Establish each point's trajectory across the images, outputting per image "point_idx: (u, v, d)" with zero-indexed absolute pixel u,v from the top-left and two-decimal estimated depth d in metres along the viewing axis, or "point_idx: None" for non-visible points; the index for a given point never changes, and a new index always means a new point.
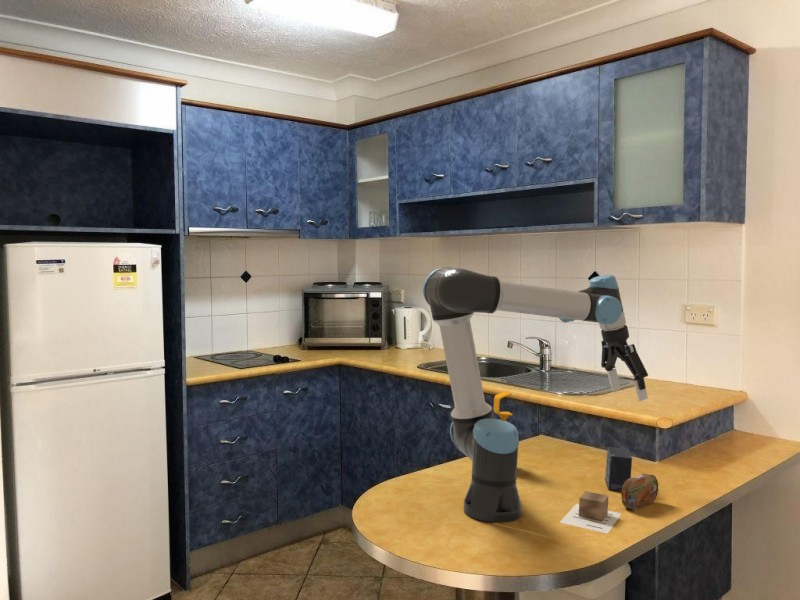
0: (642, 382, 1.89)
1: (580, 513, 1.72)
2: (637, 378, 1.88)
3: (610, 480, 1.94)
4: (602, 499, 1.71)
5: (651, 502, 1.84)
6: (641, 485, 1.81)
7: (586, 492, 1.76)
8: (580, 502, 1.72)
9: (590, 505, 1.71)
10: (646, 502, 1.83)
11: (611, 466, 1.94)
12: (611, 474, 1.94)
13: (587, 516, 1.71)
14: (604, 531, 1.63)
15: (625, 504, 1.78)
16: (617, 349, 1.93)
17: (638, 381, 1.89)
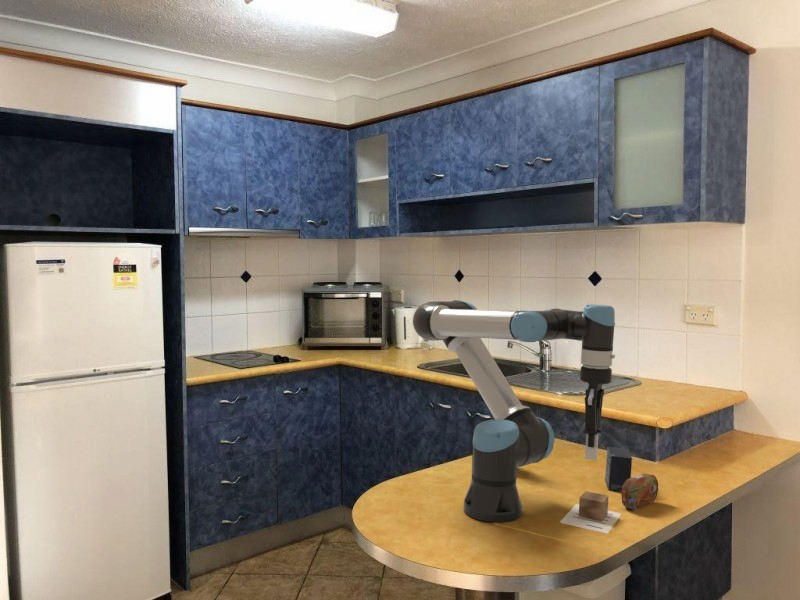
0: (591, 439, 1.65)
1: (580, 513, 1.72)
2: (586, 433, 1.66)
3: (610, 480, 1.94)
4: (602, 499, 1.71)
5: (651, 502, 1.84)
6: (641, 485, 1.81)
7: (586, 492, 1.76)
8: (580, 502, 1.72)
9: (590, 505, 1.71)
10: (646, 502, 1.83)
11: (611, 466, 1.94)
12: (611, 474, 1.94)
13: (587, 516, 1.71)
14: (604, 531, 1.63)
15: (625, 504, 1.78)
16: (587, 393, 1.66)
17: None
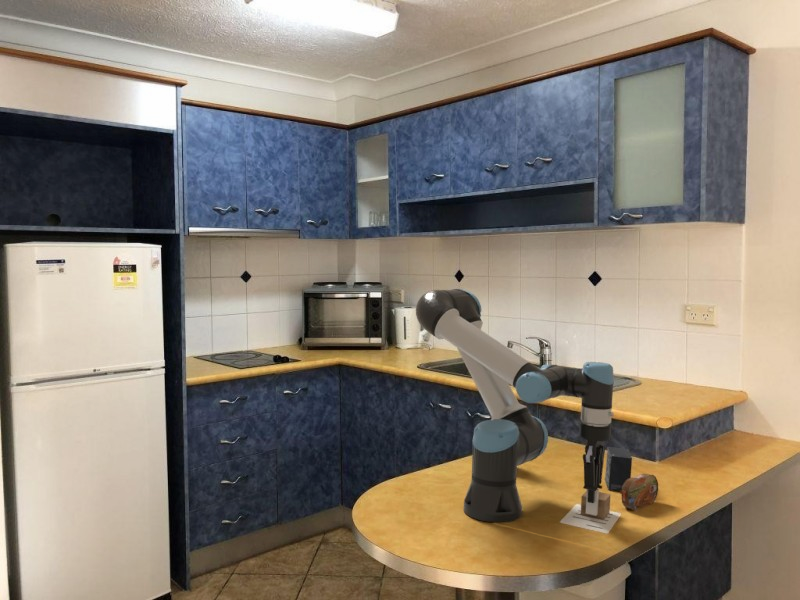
0: (590, 494, 1.69)
1: (582, 511, 1.73)
2: (586, 488, 1.69)
3: (610, 480, 1.94)
4: (604, 498, 1.72)
5: (651, 502, 1.84)
6: (641, 485, 1.81)
7: None
8: (582, 500, 1.73)
9: None
10: (646, 502, 1.83)
11: (611, 466, 1.94)
12: (611, 474, 1.94)
13: (589, 514, 1.72)
14: (604, 531, 1.63)
15: (625, 504, 1.78)
16: (586, 449, 1.69)
17: None
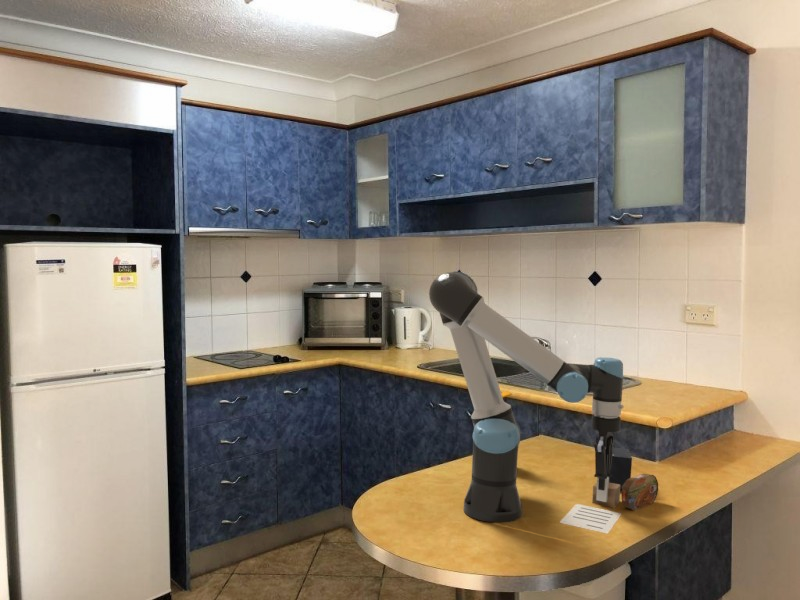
0: (601, 482, 1.79)
1: (594, 501, 1.83)
2: (597, 476, 1.80)
3: (610, 480, 1.94)
4: (615, 488, 1.81)
5: (651, 502, 1.84)
6: (641, 485, 1.81)
7: None
8: (594, 490, 1.82)
9: None
10: (646, 502, 1.83)
11: (611, 466, 1.94)
12: None
13: (600, 503, 1.82)
14: (604, 531, 1.63)
15: (625, 504, 1.78)
16: (597, 439, 1.79)
17: (599, 480, 1.80)
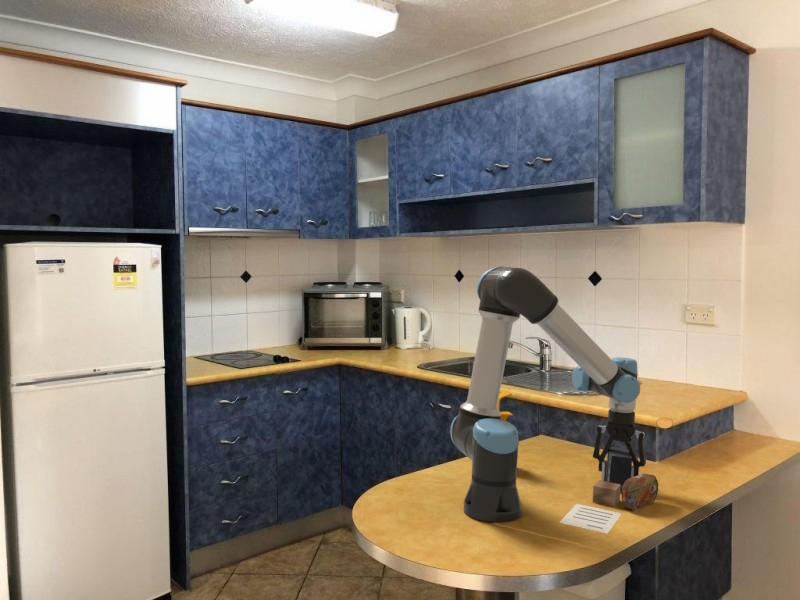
0: (599, 463, 2.01)
1: (594, 500, 1.83)
2: None
3: (610, 480, 1.94)
4: (615, 487, 1.82)
5: (651, 502, 1.84)
6: (641, 485, 1.81)
7: (600, 481, 1.87)
8: (594, 490, 1.83)
9: (603, 493, 1.82)
10: (646, 502, 1.83)
11: (611, 466, 1.94)
12: (611, 474, 1.94)
13: (600, 503, 1.82)
14: (604, 531, 1.63)
15: (625, 504, 1.78)
16: None
17: None
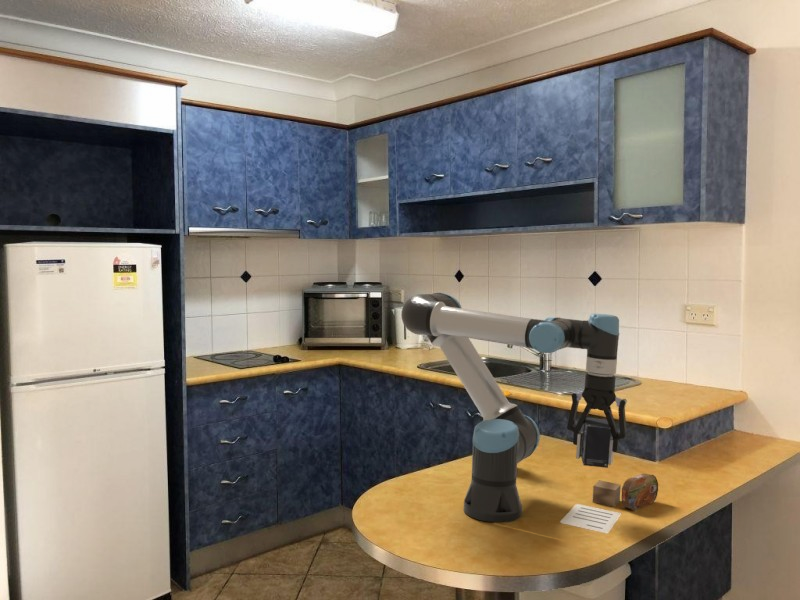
0: (574, 436, 1.75)
1: (594, 500, 1.83)
2: None
3: (586, 454, 1.68)
4: (615, 488, 1.82)
5: (651, 502, 1.84)
6: (641, 485, 1.81)
7: (600, 481, 1.87)
8: (594, 490, 1.83)
9: (603, 493, 1.82)
10: (646, 502, 1.83)
11: (587, 438, 1.68)
12: (587, 447, 1.68)
13: (600, 503, 1.82)
14: (604, 531, 1.63)
15: (625, 504, 1.78)
16: None
17: None
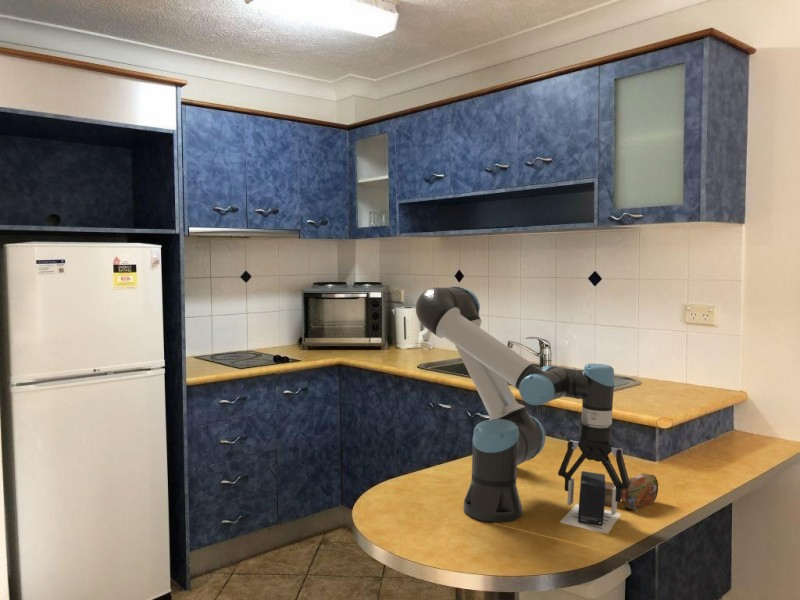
0: None
1: None
2: None
3: (580, 511, 1.68)
4: None
5: (651, 502, 1.84)
6: (641, 485, 1.81)
7: None
8: None
9: None
10: (646, 502, 1.83)
11: (581, 495, 1.67)
12: (581, 504, 1.67)
13: None
14: (604, 531, 1.63)
15: (625, 504, 1.78)
16: None
17: None
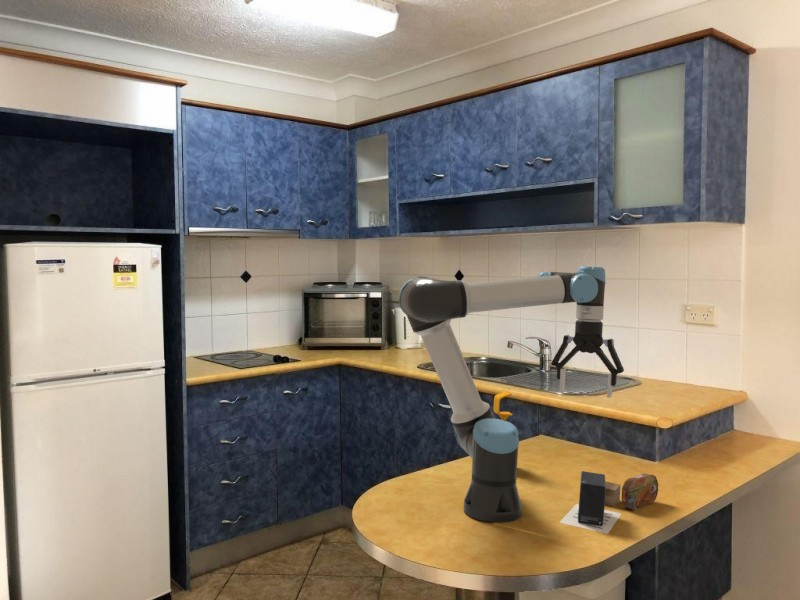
0: None
1: None
2: None
3: (580, 511, 1.68)
4: (615, 487, 1.82)
5: (651, 502, 1.84)
6: (641, 485, 1.81)
7: None
8: None
9: None
10: (646, 502, 1.83)
11: (581, 495, 1.67)
12: (581, 504, 1.67)
13: None
14: (604, 531, 1.63)
15: (625, 504, 1.78)
16: None
17: None
